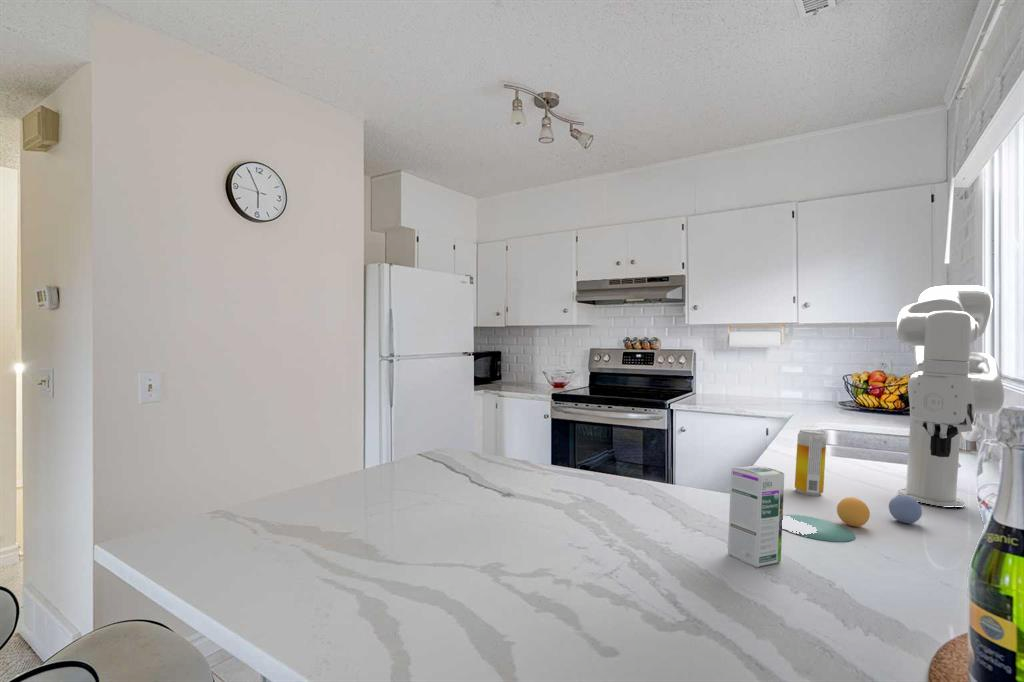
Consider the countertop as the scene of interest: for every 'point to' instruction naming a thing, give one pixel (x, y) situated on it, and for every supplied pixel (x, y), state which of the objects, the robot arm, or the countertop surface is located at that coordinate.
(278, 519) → the countertop surface
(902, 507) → the blue ball
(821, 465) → the drink can
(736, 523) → the syrup box
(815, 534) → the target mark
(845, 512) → the orange ball
